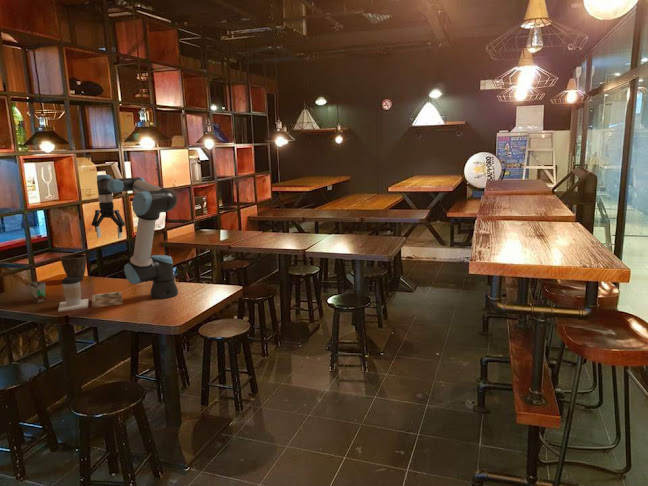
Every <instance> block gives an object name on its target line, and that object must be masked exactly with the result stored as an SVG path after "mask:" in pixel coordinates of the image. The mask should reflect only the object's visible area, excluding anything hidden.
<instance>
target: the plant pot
mask: <svg viewBox="0 0 648 486" xmlns="http://www.w3.org/2000/svg"><path fill="white" fill-rule="evenodd" d="M60 262H61V265H62V268H63V271H64V272H65V275H66V277H71V276H77V277H78V278H80V280H81V281H80V282H82V281H83V280H84V277H85V273H86V268H87V254H84V253H75V254H74V253H73V254H66V255H63V256H60Z"/></svg>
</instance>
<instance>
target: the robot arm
mask: <svg viewBox="0 0 648 486" xmlns="http://www.w3.org/2000/svg"><path fill="white" fill-rule="evenodd" d="M96 185H97V195H98V196H97V197H98V205H99V209H95V210H94V216H93V219H92V221H91V226H92V227H93V226H94V231H95V233H96V237H97V239H100V238H102V234H101V232H102V230H101V226H100V224H101V223H102V221H103V220H104V219H105V218H107V219H111V220H112V221H113V223H115V224H116V226H117V227H116V228H117V229H116V230H117V239H122V238H123V235H122V234H123V227H124V226H126V223H125V221H124V219H123V217H122V216H121V214H120V210H119V209H115V210H114V208H115V207H114V202H113V201H114V198H113V194H115V193H121V192H135V195H133V198H132V201H131V202H132V203H131V206H132V211H133V213H134V214H135V216H136V218H137V227H136V235H135V244H134V251H133V255H132V256H131V257H130V258H129V262H128V263H126V264H125V265H124V267H123V268H124V269H123V271H124V276H125V277H126V279H127V280H128V282H129V283H130V284H132V285H137V284H141V283H146V282H149V281H150V282H151V281H152V286H151V289H150V293H149V294H150V297H151V298H153V299H169V298H174V297H176V296H177V294H178V295H179V289H178V286H177V285H176V283H175V275H174V262H173V258H172V256H170V255H164V254H154V255H152V249H153V242H154V235H155V228H156V227H155V226H156V221H157V220H159V219H160V215H161V214H162V213H165V212H166V213H167V212H170V211H172V210H173V209H175V207H176V206H177V204H178V197H177V194H176V193H175V192H174V190H172V189H170V188H168V187H167V188H166V187H160V186H157V185H155V184H152V183H149V182H146V180H145V178H143V177H140V176H139V177H138V176H137V177H126V178H125V177H123V178H122V177H121V178H119V177H118V178H112V176H111V174H97V175H96ZM173 296H174V297H173Z"/></svg>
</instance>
